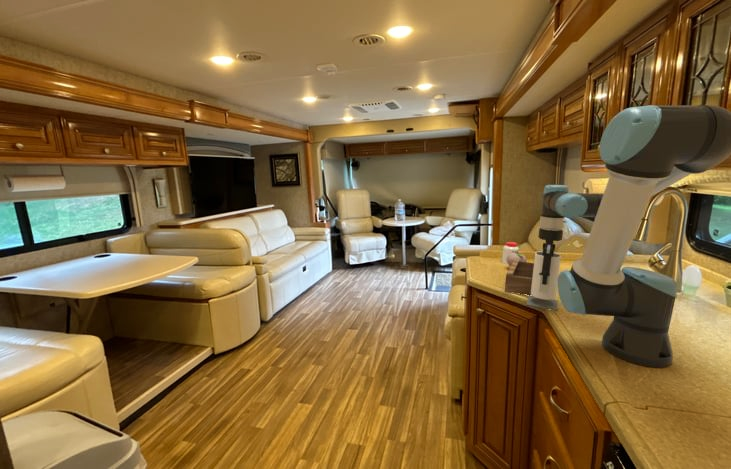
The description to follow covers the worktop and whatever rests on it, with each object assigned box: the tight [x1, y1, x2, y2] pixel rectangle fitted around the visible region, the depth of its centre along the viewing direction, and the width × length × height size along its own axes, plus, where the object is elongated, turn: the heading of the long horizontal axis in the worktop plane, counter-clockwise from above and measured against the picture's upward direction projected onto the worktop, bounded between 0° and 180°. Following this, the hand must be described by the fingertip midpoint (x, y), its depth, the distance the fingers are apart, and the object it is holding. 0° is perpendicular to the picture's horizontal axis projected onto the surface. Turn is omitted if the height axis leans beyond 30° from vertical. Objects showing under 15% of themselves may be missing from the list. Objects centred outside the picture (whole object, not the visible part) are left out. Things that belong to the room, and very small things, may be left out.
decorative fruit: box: [507, 250, 528, 267], centre depth 164 cm, size 9×8×10 cm
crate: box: [504, 259, 534, 295], centre depth 142 cm, size 26×16×8 cm, turn 150°
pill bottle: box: [501, 241, 520, 265], centre depth 176 cm, size 8×8×11 cm
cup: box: [531, 250, 562, 300], centre depth 122 cm, size 8×8×16 cm
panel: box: [525, 295, 559, 312], centre depth 124 cm, size 10×10×1 cm
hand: (543, 288), depth 123 cm, fingers closed on cup, 8 cm apart
